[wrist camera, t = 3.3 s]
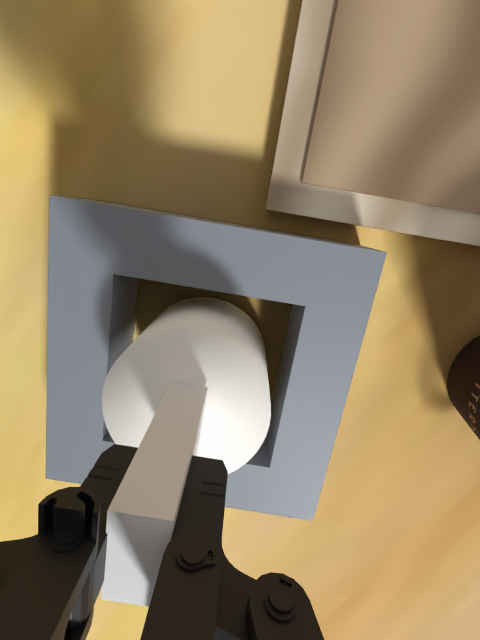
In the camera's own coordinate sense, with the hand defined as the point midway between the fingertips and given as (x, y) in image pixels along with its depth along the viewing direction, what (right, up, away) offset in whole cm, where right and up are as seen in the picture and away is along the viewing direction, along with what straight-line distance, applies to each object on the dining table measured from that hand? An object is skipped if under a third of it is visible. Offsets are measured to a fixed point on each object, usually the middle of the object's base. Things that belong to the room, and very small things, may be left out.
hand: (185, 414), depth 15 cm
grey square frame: (0, +2, +7) cm, 7 cm away
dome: (0, +2, +6) cm, 6 cm away
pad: (+11, +14, +3) cm, 19 cm away
